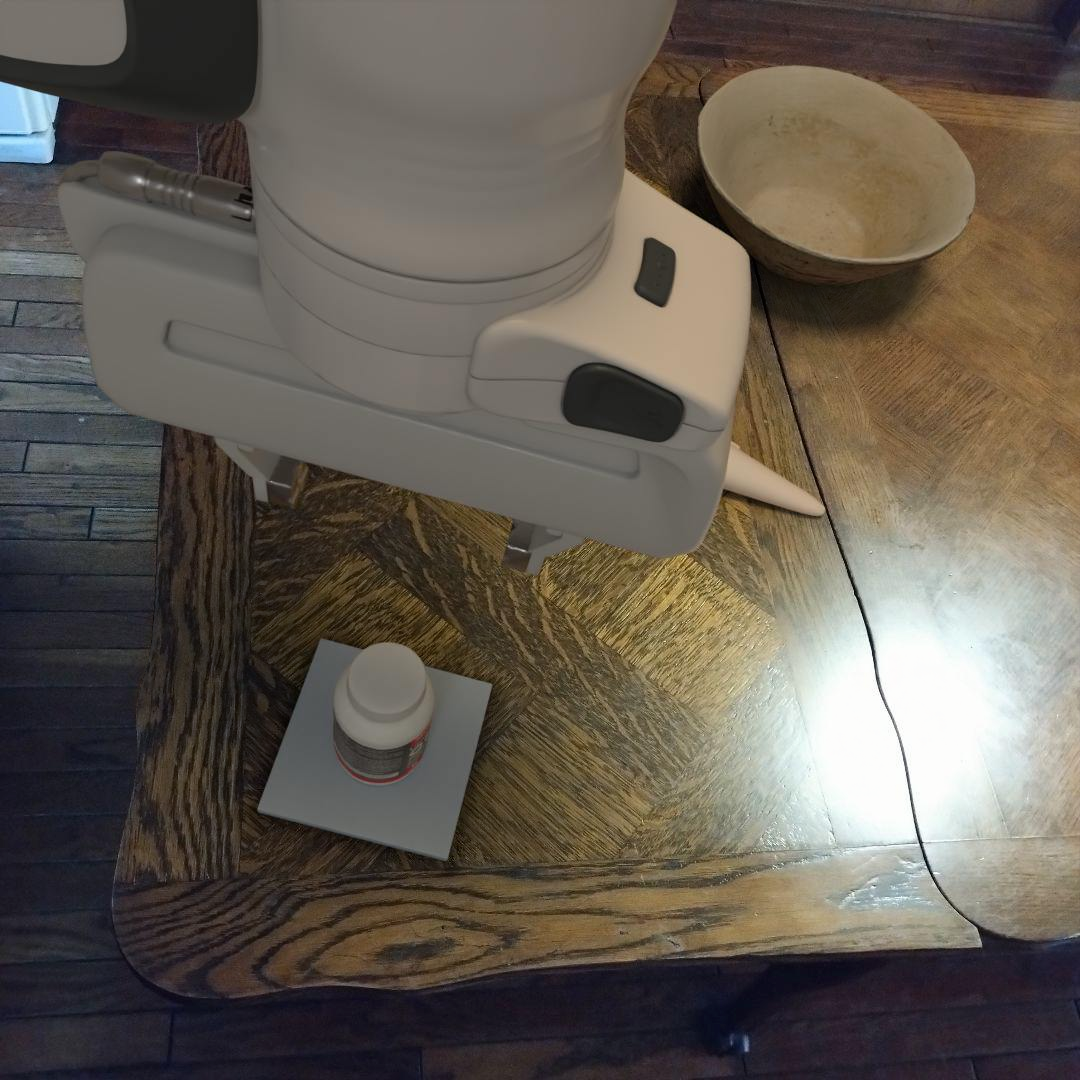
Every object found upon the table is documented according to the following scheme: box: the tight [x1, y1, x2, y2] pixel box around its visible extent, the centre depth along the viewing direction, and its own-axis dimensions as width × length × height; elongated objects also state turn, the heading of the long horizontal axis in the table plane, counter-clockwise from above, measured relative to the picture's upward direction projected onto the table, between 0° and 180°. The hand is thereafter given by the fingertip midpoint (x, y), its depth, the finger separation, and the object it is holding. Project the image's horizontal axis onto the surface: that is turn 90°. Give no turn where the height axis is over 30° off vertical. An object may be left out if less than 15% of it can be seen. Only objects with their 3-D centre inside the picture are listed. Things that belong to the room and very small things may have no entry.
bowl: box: [695, 64, 977, 286], centre depth 85 cm, size 24×24×10 cm
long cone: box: [723, 440, 826, 517], centre depth 71 cm, size 6×6×19 cm
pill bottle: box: [333, 641, 435, 786], centre depth 54 cm, size 5×5×10 cm
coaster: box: [256, 638, 493, 862], centre depth 58 cm, size 11×11×1 cm
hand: (403, 523), depth 37 cm, fingers open, 8 cm apart
